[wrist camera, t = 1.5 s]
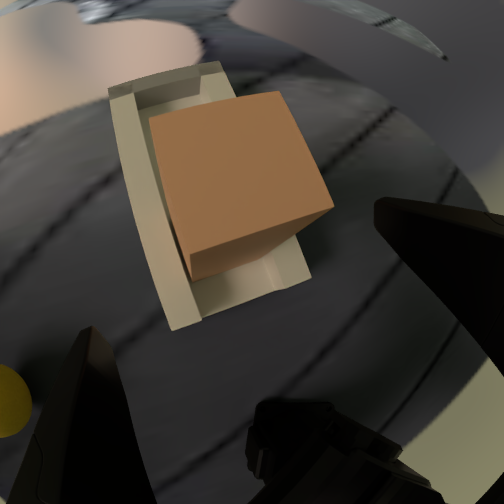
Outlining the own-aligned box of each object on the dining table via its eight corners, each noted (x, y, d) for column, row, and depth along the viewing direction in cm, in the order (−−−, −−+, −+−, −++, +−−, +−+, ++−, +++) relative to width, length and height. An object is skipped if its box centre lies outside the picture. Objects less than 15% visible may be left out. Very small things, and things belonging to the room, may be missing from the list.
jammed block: (259, 259, 21) (334, 206, 10) (192, 282, 20) (189, 254, 8) (235, 195, 22) (278, 90, 10) (170, 216, 21) (148, 118, 9)
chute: (294, 281, 23) (311, 277, 19) (175, 326, 20) (171, 330, 17) (215, 85, 25) (218, 60, 21) (115, 111, 22) (107, 88, 19)
